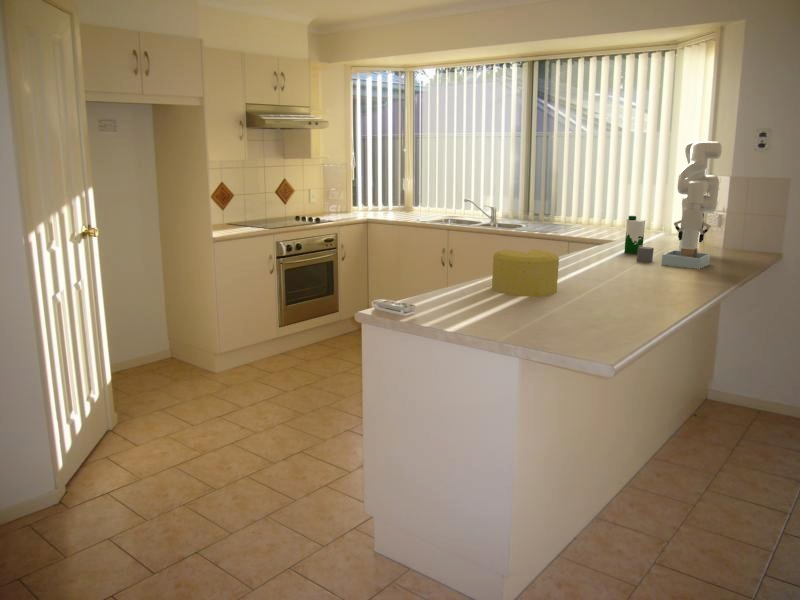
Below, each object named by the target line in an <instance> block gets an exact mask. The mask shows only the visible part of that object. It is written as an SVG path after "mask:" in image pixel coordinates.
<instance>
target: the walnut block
mask: <svg viewBox="0 0 800 600" xmlns="http://www.w3.org/2000/svg"><path fill="white" fill-rule="evenodd" d="M697 250H699V249H698V247H697V248H690V247H684V248H681V256H684V257H694V258H696V257H697Z"/></svg>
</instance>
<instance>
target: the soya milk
mask: <svg viewBox="0 0 800 600" xmlns="http://www.w3.org/2000/svg"><path fill="white" fill-rule="evenodd" d="M627 218H628V219H626V225H625V226H626V231H625V239H624V240H625V241H624V252H623V253H624V254H632V255H637V252H638V248H639V247H644V240H645V239H644V237H645V228H646V227H645V226H646V219H645V220H644V219H637V216H636V215H628V217H627Z"/></svg>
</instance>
